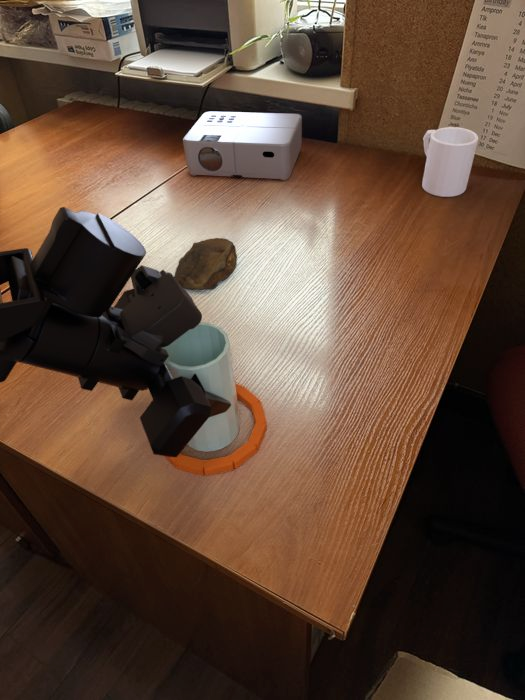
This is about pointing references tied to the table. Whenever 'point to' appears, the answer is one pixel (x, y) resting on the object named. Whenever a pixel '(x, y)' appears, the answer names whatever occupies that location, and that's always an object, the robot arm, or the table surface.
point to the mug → (448, 160)
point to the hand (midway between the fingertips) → (215, 384)
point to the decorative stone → (206, 264)
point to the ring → (236, 457)
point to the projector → (244, 144)
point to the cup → (208, 380)
